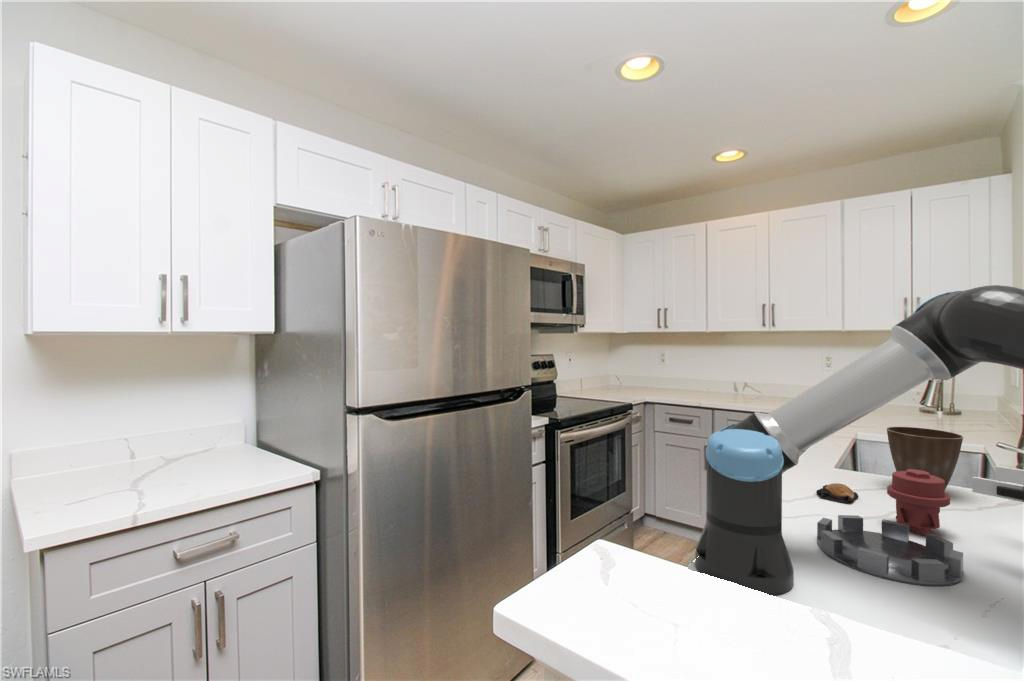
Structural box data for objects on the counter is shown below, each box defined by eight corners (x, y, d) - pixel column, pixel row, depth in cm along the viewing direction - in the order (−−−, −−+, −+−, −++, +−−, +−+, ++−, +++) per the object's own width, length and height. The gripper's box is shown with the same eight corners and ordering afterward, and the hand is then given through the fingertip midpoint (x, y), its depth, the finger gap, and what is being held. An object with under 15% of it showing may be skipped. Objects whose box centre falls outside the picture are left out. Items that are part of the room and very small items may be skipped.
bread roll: (821, 490, 126) (821, 476, 126) (860, 497, 120) (860, 483, 120) (813, 499, 118) (813, 485, 118) (854, 508, 112) (854, 492, 112)
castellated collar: (801, 553, 87) (802, 534, 87) (834, 523, 101) (834, 507, 101) (956, 601, 71) (956, 577, 71) (969, 558, 85) (969, 538, 85)
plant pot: (909, 481, 131) (910, 425, 131) (976, 499, 117) (977, 435, 117) (872, 487, 126) (873, 428, 126) (937, 506, 112) (938, 439, 112)
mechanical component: (928, 522, 102) (962, 542, 92) (876, 519, 104) (904, 537, 94) (929, 466, 102) (963, 480, 92) (877, 463, 104) (905, 477, 94)
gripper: (1167, 557, 65) (962, 510, 83) (1184, 520, 78) (1004, 486, 96) (1167, 503, 65) (962, 468, 83) (1184, 475, 78) (1003, 450, 96)
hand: (984, 478), depth 90 cm, fingers open, 13 cm apart
